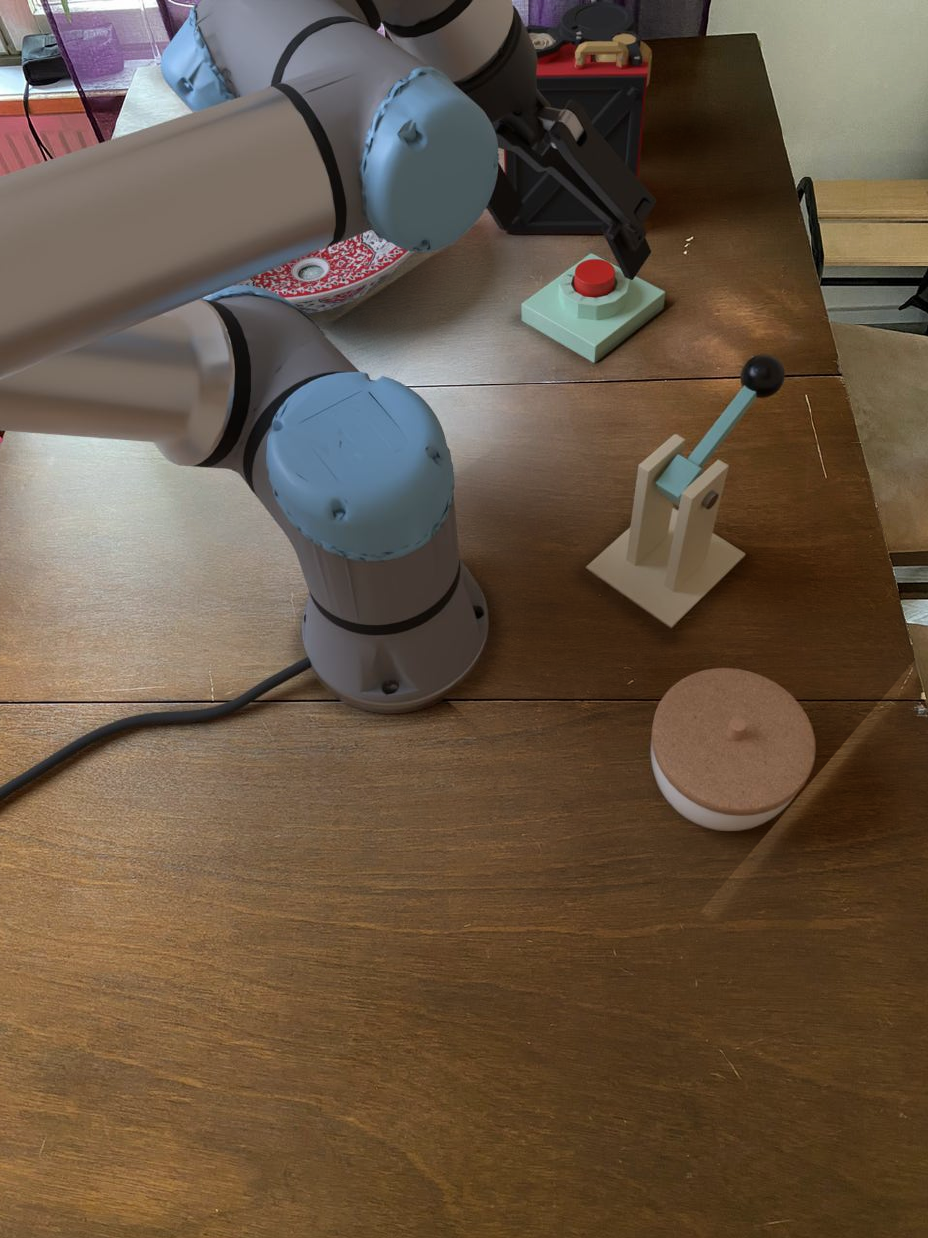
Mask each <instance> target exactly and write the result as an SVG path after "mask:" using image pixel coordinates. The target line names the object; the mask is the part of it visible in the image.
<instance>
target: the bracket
mask: <svg viewBox="0 0 928 1238" xmlns="http://www.w3.org/2000/svg"><path fill="white" fill-rule="evenodd" d="M685 443H686V439H685V438H684V437H683V436H681V435H679V434H677V433H674V434H673V435H671V437H669V438H668V439H667V440H666V441H665V442H663V443H662V444H661V445H660V446H659V447H658V448H657V449H655V450H654V451H653V452H652V453H651V454H649V455H648V456H647V457H646V458H645V459H643V461H641V463H639V464H638V468H637V475H636V483H635V491H634V496H633V503H632V504H633V505H632V513H631V519H630V520H631V521H630V526H629V527H628V528H627V529H626V530H625V531H624V532H622V533H621V535H619V536H618V537H617V538H616V539H615V540H614V541H613V542H612V543H610V545H608V546H607V547H606V548H605V549H604V550H603V551H601V552H600V553H599V555H597V556H596V557H595V558H594V559H593V560H592V561H590V563H588V565H586V566H585V569H587V570H588V571H589V572H590V573H592V574H593V575H595V576H596V577H597V578H599V579H601V580H602V581H603V582H605V583H606V584H608V585H609V586H610V587H612V588H613V589H615V590H616V591H617V592H619V593H620V594H621V595H623V596H625V597H626V598H627V599H629V600H630V601H631V602H633V603H634V604H636V605H637V606H639V607H640V608H641V609H643V610H644V611H645V612H647V613H649V614H650V615H651V616H653V617H654V618H655V619H657V620H658V621H660V622H661V623H662V624H664V625H665V626H667V627H669V628H670V629H672V628H673V627H674V626H675V625H677V624H678V622H679V621H680V620H681V619H682V618H684V616H686V614H688V612H690V611H691V610H692V609H693V608H694V607H695V606H696V605H697V604H698V603H699V602H700V601H701V600H702V599H703V598H704V597H705V596H706V595H707V594H708V593H709V592H710V591H711V590H712V589H713V588H714V587H715V586H716V585H717V584H718V583H719V582H720V581H721V580H722V579H723V578H724V577H725V576H726V575H727V574H728V573H729V572H730V571H731V570H732V569H733V568H734V567H735V566H737V564H738V563H740V562H741V560H742V559H743V558H745V557H746V553H745V552H744V551H742V550H741V549H739V548H737V547H736V546H734V545H733V544H731V543H730V542H728V541H727V540H725V539H723V538H722V537H721V536H719V535H718V534H716V533H714V528H715V524H716V520H717V516H718V512H719V508H720V504H721V500H722V496H723V491H724V487H725V482H726V479H727V475H728V471H729V467H730V466H729V464H727V463H726V462H724V461H722V460H721V459H717V460H716V461H715V462H714V463H713V464H711V465H710V466H709V467H708V468H707V469H706V470H705V471H703V474H702V475H700V476H699V477H698V478H697V479H696V480H695V481H694V482H693V483H692V484H691V485H689V486H688V487H687V488H686V489H685V490H684V491H683V492H682V494H681V500H680V505H679V506H678V509H677V508H675V507H674V505H675V503H673V502H672V501H670V500H668V499H667V498H665V497H664V496H662V495H661V494H660V492H659V490H658V488H657V485H656V482H657V480H658V479H659V478H660V476H661V475H662V474H663V473H664V471H665V470H666V469H667V467H668V466H669V465H670V464H671V462H672V461H673V460H674V458H675V457H676V456H677V455H678V454H679V455H681V456H682V457H683V455H684V450H685V449H684V448H685Z"/></svg>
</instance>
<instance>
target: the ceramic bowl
mask: <svg viewBox="0 0 928 1238" xmlns="http://www.w3.org/2000/svg"><path fill="white" fill-rule="evenodd" d="M414 253H415V252H412V251H408V250H405V249H401V248H399V247H397V246H396V245H394V244H393V243H390V242H387V241H386V240H385V239H383V238H381V239H380V238H379V237H378V236H377V235H376V234H375V233H374V231H373V230H370V231H367V232H365V233H362V234H360V235H358V236H355V237H353V238H350V239H348V240H345V241H342V242H339V243H336V244H334V245H331V246H329V247H326V248H324V249H321V250H319V251H316V252H314V253H312V254H309V255H307V256H304V257H302V258H299V259H297V260H294V261H292V262H289V263H287V264H284V265H282V266H279V267H277V268H275V269H272V270H270V271H267V272H265V273H262V274H260V275H257V276H255V277H252V278H250V279H247V280H245V281H243V282H240V283H238V284H235V285H248V286H255V287H260V288H264V289H267V290H269V291H272V292H274V293H276V294H278V295H280V296H282V297H283V298H285V299H286V300H288V301H289V302H290V303H292V304H294V305H296V306H297V307H299V309H300V310H301V311H304V312H305V313H306V314H314V313H319V312H324V311H329V310H332V309H336V308H338V307H341V306H344V305H347V304H349V303H352V302H354V301H356V300H358V299H359V298H361V297H364V296H365V295H367V294H368V293H370V292H371V291H373V290H374V289H376V288H377V287H378V286H379V285H381V284H382V283H383V282H384V281H386V279H388V278H389V277H390V276H391V274H393V272H395V270H397V268H398V267H399V266H400V265H401V264H402V263H404V262H405V261H406V260H407V259H408V258H409V257H410V256H412V255H413V254H414ZM310 266H318V267H320V268H321V269H322V270H323V272H322V274H321V275H320V276H318V277H316V278H314V279H303V278H301V277H299V272H300V271H301V270H302V269H304V268H306V267H310ZM233 286H234V285H233Z"/></svg>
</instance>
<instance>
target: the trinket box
mask: <svg viewBox="0 0 928 1238" xmlns="http://www.w3.org/2000/svg"><path fill="white" fill-rule="evenodd" d="M816 746H817V745H816V737H815V734H814V728H813V725H812V723H811V720H810V719H809V716H808V715H807V713H806V711H805V710H804V708H803V707H802V705H801V704H800V703H799V702H798V700H796V698H795V697H794V696H793V695H792V694H791V693H790V692H788V691H787V689H785V688H784V687H782V686H781V685H780V684H778V683H777V682H775V681H774V680H772V679H769V678H767V677H765V676H763V675H761V674H758V673H755V672H752V671H750V670H745V669H740V668H731V667H717V668H709V669H704V670H699V671H697V672H694V673H691V674H689V675H687V676H686V677H683V678H682V679H680V680H679V681H678V682H676V683H675V684H673V685H672V686H671V687H670V688H669V689H668V691H667V692H665V693H664V694H663V697H662V698H661V699H660V701H659V703H658V705H657V706H656V710H655V713H654V716H653V721H652V724H651V738H650V761H651V768H652V772H653V775H654V778H655V781H656V784H657V786H658V789H659V791H660V792H661V794H662V795H663V797H664V798H665V800H666V801H667V803H668V804H670V805H671V807H672V808H673V809H674V810H675V811H676V812H678V813H679V814H680V815H681V816H682V817H684V818H685V819H687V820H689V821H690V822H692V823H693V824H695V825H698V826H701V827H703V828H706V829H709V830H713V831H722V832H740V831H746V830H750V829H753V828H756V827H759V826H761V825H763V824H765V823H767V822H768V821H770V820H772V819H773V818H775V817H776V816H778V815H779V814H780V813H781V812H783V811H784V810H785V808H787V806H789V804H790V803H791V802H792V801H793V799H794V798H795V797H796V796H797V794H799V792H800V791H801V789H802V788H803V787H804V786H805V784H806V783H807V780H808V779H809V777H810V775H811V773H812V771H813V767H814V763H815V761H816V752H817V748H816Z"/></svg>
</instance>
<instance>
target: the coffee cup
mask: <svg viewBox="0 0 928 1238" xmlns="http://www.w3.org/2000/svg"><path fill="white" fill-rule="evenodd" d="M555 28H557V29H558V31H559V34H560V36H562V37H567V38H571V35H572V33H573V32H574V30H575V29H594V30H620V31H634V32H635V33H636V34H637V35H638V36H639V37H640V28H639V25H638V24H637V22H636V21H635V18H634V14H633V13H632V12H631V11H630V9H628V8H627V7H625V6H623V5H621V4H618V3H615V2H606V1H592V2H586V3H585V2H584V3H581V4H578V5H575V6H573V7H571V8H569V9H567V10H566V11H565V12H564V13H563V14H562V16H561V19H560V22H559V23H558V24H557V25H556V27H555ZM640 38H641V37H640ZM593 62H594V55H593Z"/></svg>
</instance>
